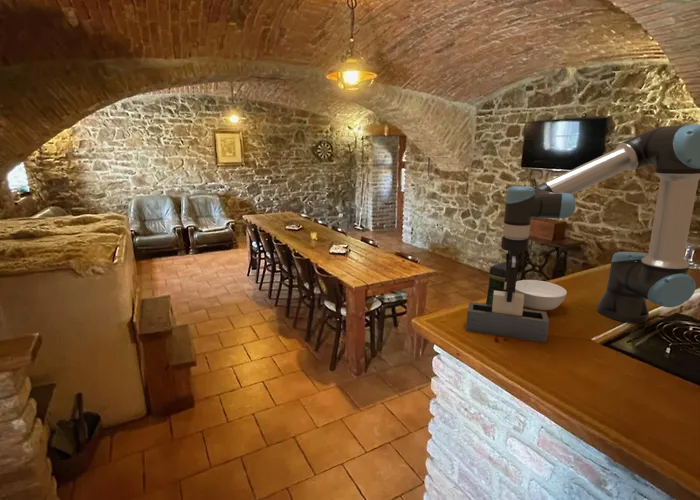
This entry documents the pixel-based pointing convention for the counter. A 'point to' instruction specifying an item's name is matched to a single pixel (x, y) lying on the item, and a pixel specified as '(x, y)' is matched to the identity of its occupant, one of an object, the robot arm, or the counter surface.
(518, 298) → the tall white notched block
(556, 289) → the bowl
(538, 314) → the grey rectangular trough
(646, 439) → the counter surface
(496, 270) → the coffee jar
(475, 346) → the counter surface
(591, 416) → the counter surface
